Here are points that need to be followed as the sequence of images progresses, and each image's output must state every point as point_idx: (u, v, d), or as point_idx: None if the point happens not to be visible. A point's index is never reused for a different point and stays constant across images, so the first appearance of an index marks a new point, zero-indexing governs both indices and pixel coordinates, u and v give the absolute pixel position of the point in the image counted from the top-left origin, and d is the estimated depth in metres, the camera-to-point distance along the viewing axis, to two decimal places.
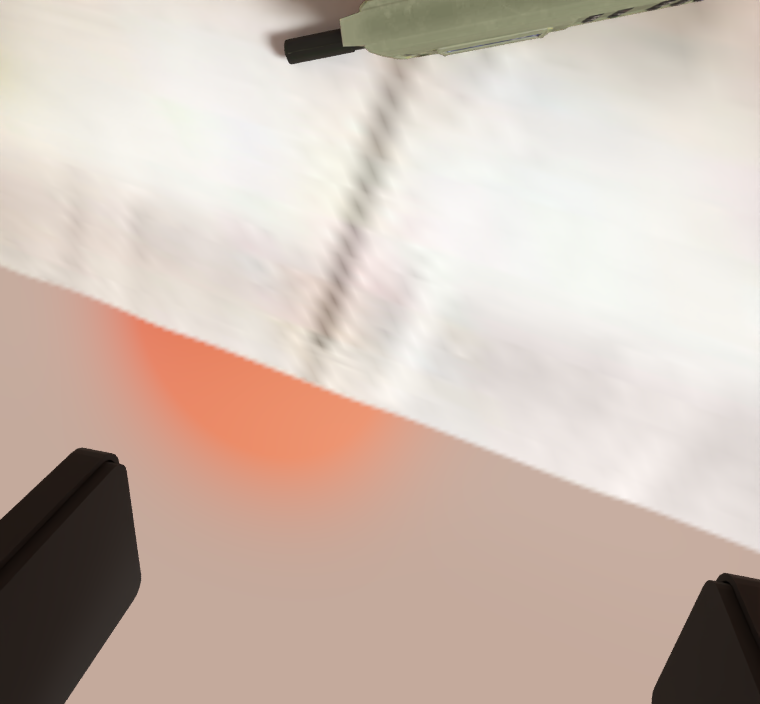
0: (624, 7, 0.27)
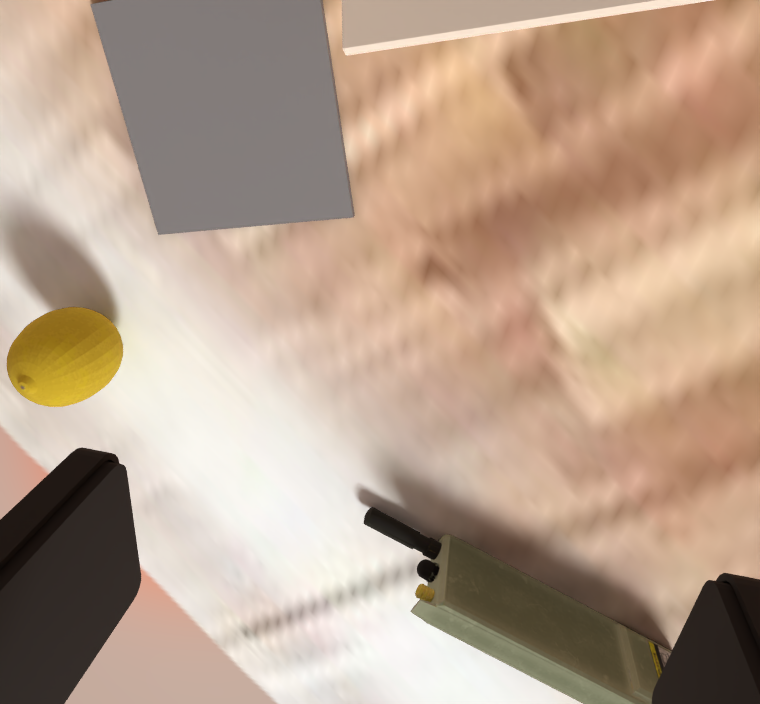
0: (579, 701, 0.39)
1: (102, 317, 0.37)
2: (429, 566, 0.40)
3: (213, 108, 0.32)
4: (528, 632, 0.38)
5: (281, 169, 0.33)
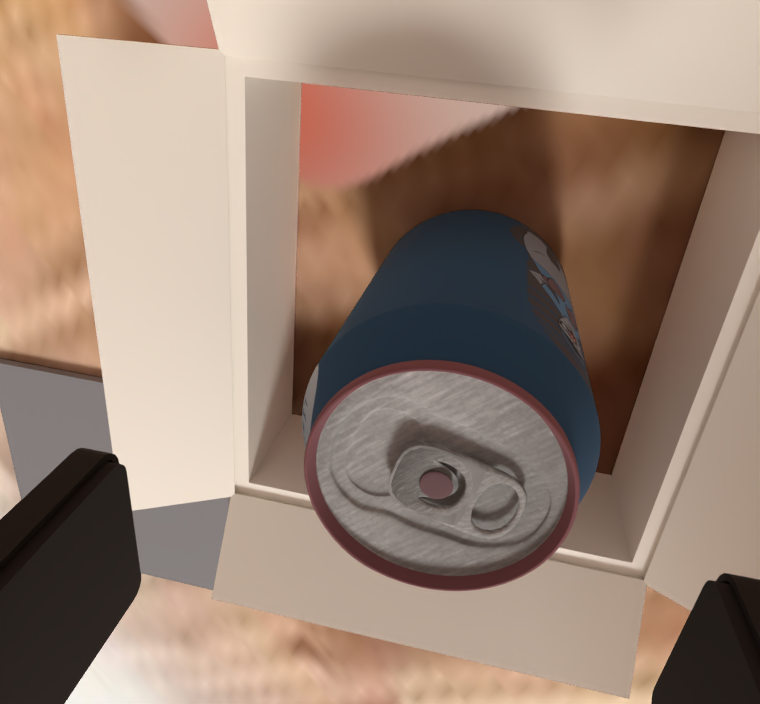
0: None
1: None
2: None
3: None
4: None
5: (166, 539, 0.32)
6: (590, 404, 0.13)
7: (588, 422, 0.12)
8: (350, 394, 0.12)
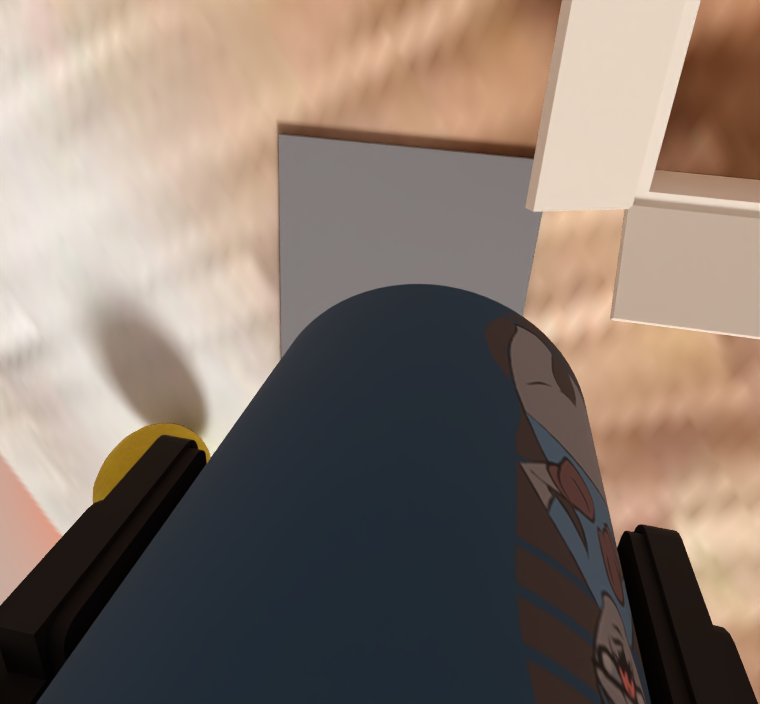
0: None
1: (198, 441, 0.33)
2: None
3: (386, 267, 0.29)
4: None
5: None
6: None
7: None
8: None
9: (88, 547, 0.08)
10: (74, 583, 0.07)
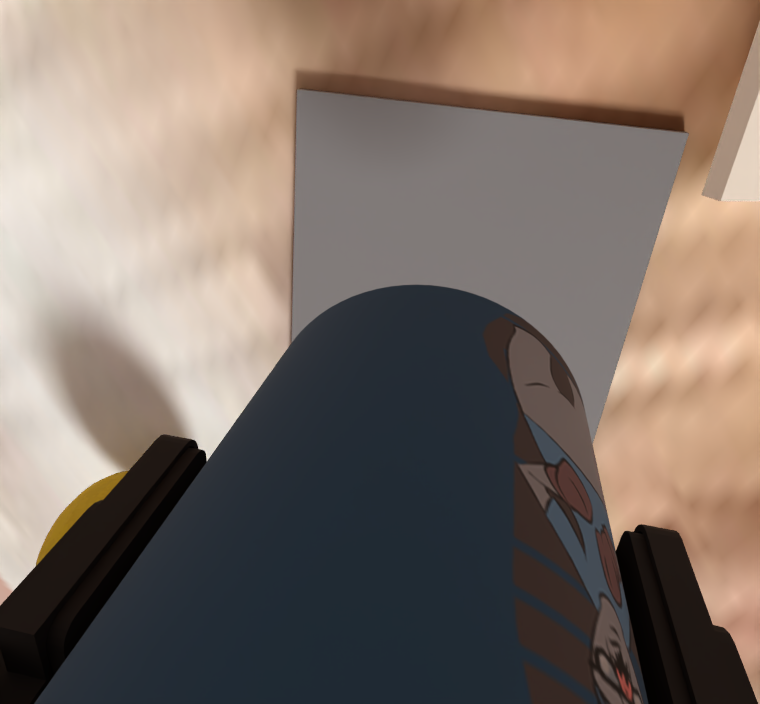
0: None
1: None
2: None
3: (438, 278, 0.21)
4: None
5: None
6: None
7: None
8: None
9: (88, 547, 0.08)
10: (75, 584, 0.07)
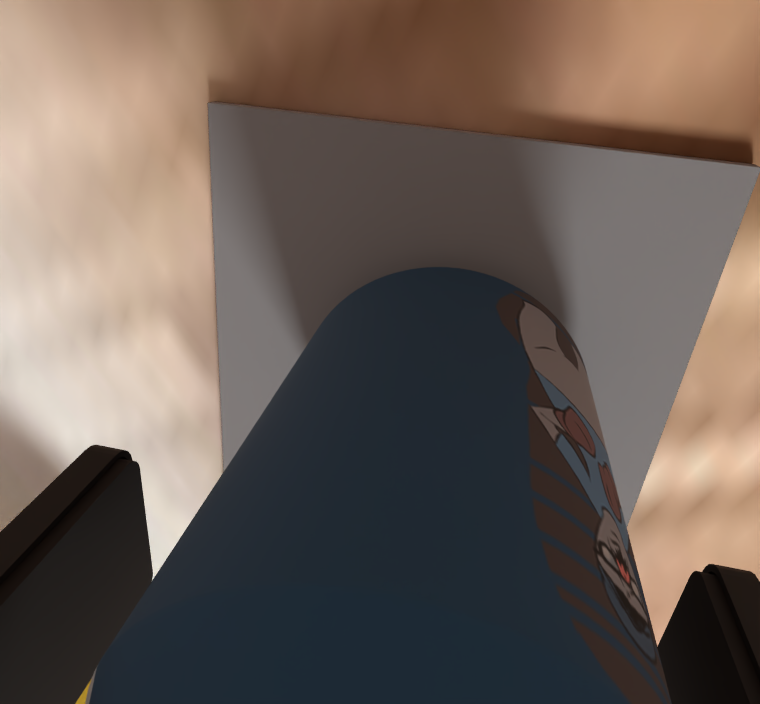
0: None
1: None
2: None
3: None
4: None
5: None
6: None
7: None
8: None
9: None
10: None
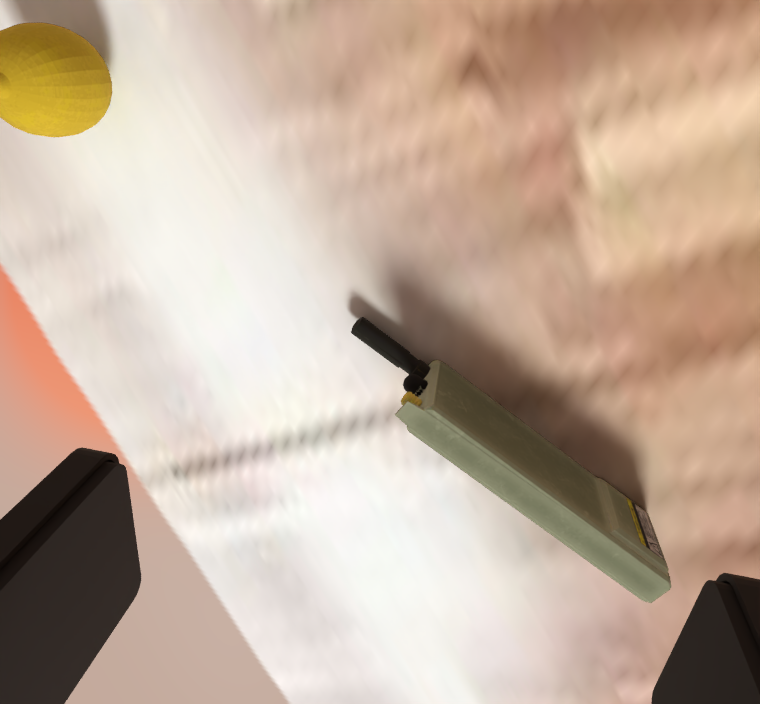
0: (555, 537, 0.37)
1: (96, 50, 0.33)
2: (417, 379, 0.37)
3: None
4: (513, 455, 0.36)
5: None
6: None
7: None
8: None
9: None
10: None
